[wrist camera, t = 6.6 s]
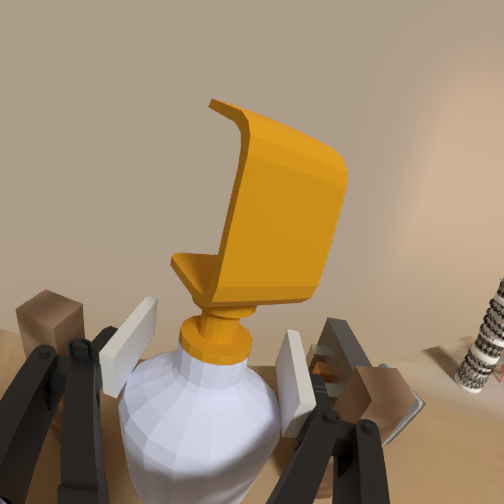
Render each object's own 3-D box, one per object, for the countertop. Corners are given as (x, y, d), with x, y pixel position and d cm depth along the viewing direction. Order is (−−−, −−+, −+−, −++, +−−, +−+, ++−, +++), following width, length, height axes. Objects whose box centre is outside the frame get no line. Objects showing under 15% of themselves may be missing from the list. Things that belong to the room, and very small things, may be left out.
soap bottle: (213, 429, 22) (287, 139, 16) (265, 504, 14) (429, 153, 8) (118, 443, 17) (139, 96, 11) (154, 535, 9) (212, 12, 4)
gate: (55, 437, 18) (15, 309, 14) (70, 414, 22) (45, 289, 18) (329, 497, 19) (416, 399, 15) (324, 470, 23) (396, 368, 19)
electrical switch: (341, 409, 34) (373, 361, 32) (366, 407, 35) (397, 361, 33) (370, 455, 25) (413, 406, 23) (395, 448, 27) (435, 400, 25)
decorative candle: (449, 382, 42) (500, 272, 36) (456, 367, 48) (500, 270, 41) (479, 399, 35) (535, 289, 29) (483, 383, 41) (530, 285, 35)
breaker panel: (291, 465, 23) (344, 379, 20) (284, 400, 34) (318, 315, 31) (321, 466, 23) (380, 381, 20) (308, 402, 35) (345, 320, 31)
